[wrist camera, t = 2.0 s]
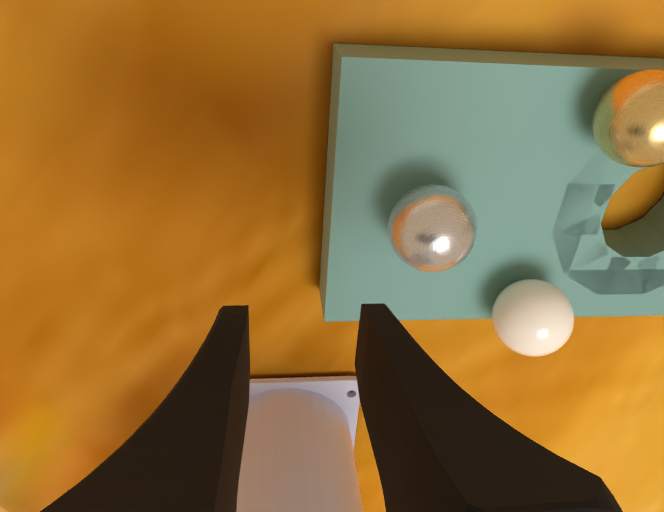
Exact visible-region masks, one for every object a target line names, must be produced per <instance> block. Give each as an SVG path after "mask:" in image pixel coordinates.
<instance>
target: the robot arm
mask: <svg viewBox="0 0 664 512" xmlns="http://www.w3.org/2000/svg"><path fill="white" fill-rule="evenodd" d="M355 369H356V376H328V377H297V378H265V379H250V348H249V313H248V305H246V306H223V307H222V308H221V309H220V310H219V312H218V315H217V317H216V319H215V322H214V324H213V326H212V328H211V330H210V332H209V334H208V335H207V337H206V339H205V341H204V343H203V344H202V346H201V348H200V349H199V351H198V353H197V354H196V356H195V357H194V359H193V361H192V362H191V364H190V365H189V367H188V368H187V370H186V371H185V372H184V374H183V375H182V377H181V378H180V379H179V381H178V382H177V384H176V385H175V386H174V388H173V389H172V390H171V392H170V393H169V394H168V395H167V397H166V398H165V399H164V400H163V402H162V403H161V404H160V405H159V406H158V408H157V409H156V410H155V411H154V412H153V413H152V415H151V416H150V417H149V418H148V419H147V420H146V421H145V422H144V423H143V424H142V425H141V426H140V427H139V428H138V429H137V431H136V432H135V433H134V434H133V435H132V436H131V437H130V438H129V439H128V440H127V441H126V442H125V443H124V444H123V445H122V446H121V447H120V448H118V449H117V450H116V451H115V452H114V453H113V454H112V455H111V456H109V457H108V458H107V459H106V460H105V461H104V462H103V463H101V464H100V465H99V466H98V467H97V468H96V469H95V470H94V471H92V472H91V473H90V474H89V475H88V476H87V477H85V478H84V479H83V480H82V481H80V482H79V483H78V484H77V485H75V486H74V487H73V488H71V489H70V490H69V491H67V492H66V493H65V494H63V495H62V496H61V497H59V498H58V499H57V500H55V501H54V502H53V503H51V504H50V505H49V506H47V507H46V508H44V509H43V510H42V511H40V512H364V511H363V505H362V499H361V493H360V487H359V481H358V475H357V469H356V463H355V457H354V443H355V435H356V426H357V418H358V410H359V402H361V406H362V410H363V414H364V418H365V422H366V426H367V430H368V433H369V437H370V441H371V445H372V449H373V452H374V456H375V460H376V464H377V467H378V471H379V475H380V480H381V484H382V489H383V494H384V500H385V507H386V512H623V511H622V510H621V508H620V506H619V504H618V503H617V501H616V499H615V498H614V496H613V495H612V493H611V492H610V490H609V489H608V488H607V486H606V485H605V483H604V482H603V481H602V479H601V478H600V477H598V476H597V475H595V474H593V473H591V472H589V471H587V470H585V469H583V468H581V467H579V466H577V465H575V464H573V463H571V462H569V461H567V460H566V459H564V458H562V457H560V456H558V455H556V454H554V453H553V452H551V451H549V450H548V449H546V448H544V447H543V446H541V445H539V444H538V443H536V442H534V441H533V440H531V439H529V438H528V437H526V436H525V435H523V434H522V433H520V432H518V431H517V430H515V429H514V428H512V427H511V426H510V425H508V424H507V423H505V422H504V421H503V420H501V419H500V418H498V417H497V416H495V415H494V414H493V413H491V412H490V411H489V410H487V409H486V408H485V407H483V406H482V405H481V404H480V403H478V402H477V401H476V400H475V399H474V398H472V397H471V396H470V395H469V394H468V393H467V392H465V391H464V390H463V389H462V388H461V387H459V386H458V385H457V384H456V383H455V382H454V381H453V380H452V379H451V378H450V377H449V376H448V375H447V374H446V373H445V372H444V371H443V370H442V369H441V368H440V367H439V366H438V365H437V364H436V363H435V362H434V361H433V360H432V359H431V358H430V357H429V356H428V354H427V353H426V352H425V351H424V350H423V349H422V348H421V347H420V346H419V344H418V343H417V342H416V341H415V340H414V339H413V337H412V336H411V335H410V334H409V333H408V331H407V330H406V329H405V328H404V327H403V325H402V324H401V323H400V322H399V320H398V319H397V318H396V317H395V315H394V314H393V313H392V311H391V310H390V309H389V308H388V307H387V305H386V304H385V303H379V304H361V311H360V320H359V329H358V338H357V347H356V356H355ZM349 391H353V392H349Z"/></svg>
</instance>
